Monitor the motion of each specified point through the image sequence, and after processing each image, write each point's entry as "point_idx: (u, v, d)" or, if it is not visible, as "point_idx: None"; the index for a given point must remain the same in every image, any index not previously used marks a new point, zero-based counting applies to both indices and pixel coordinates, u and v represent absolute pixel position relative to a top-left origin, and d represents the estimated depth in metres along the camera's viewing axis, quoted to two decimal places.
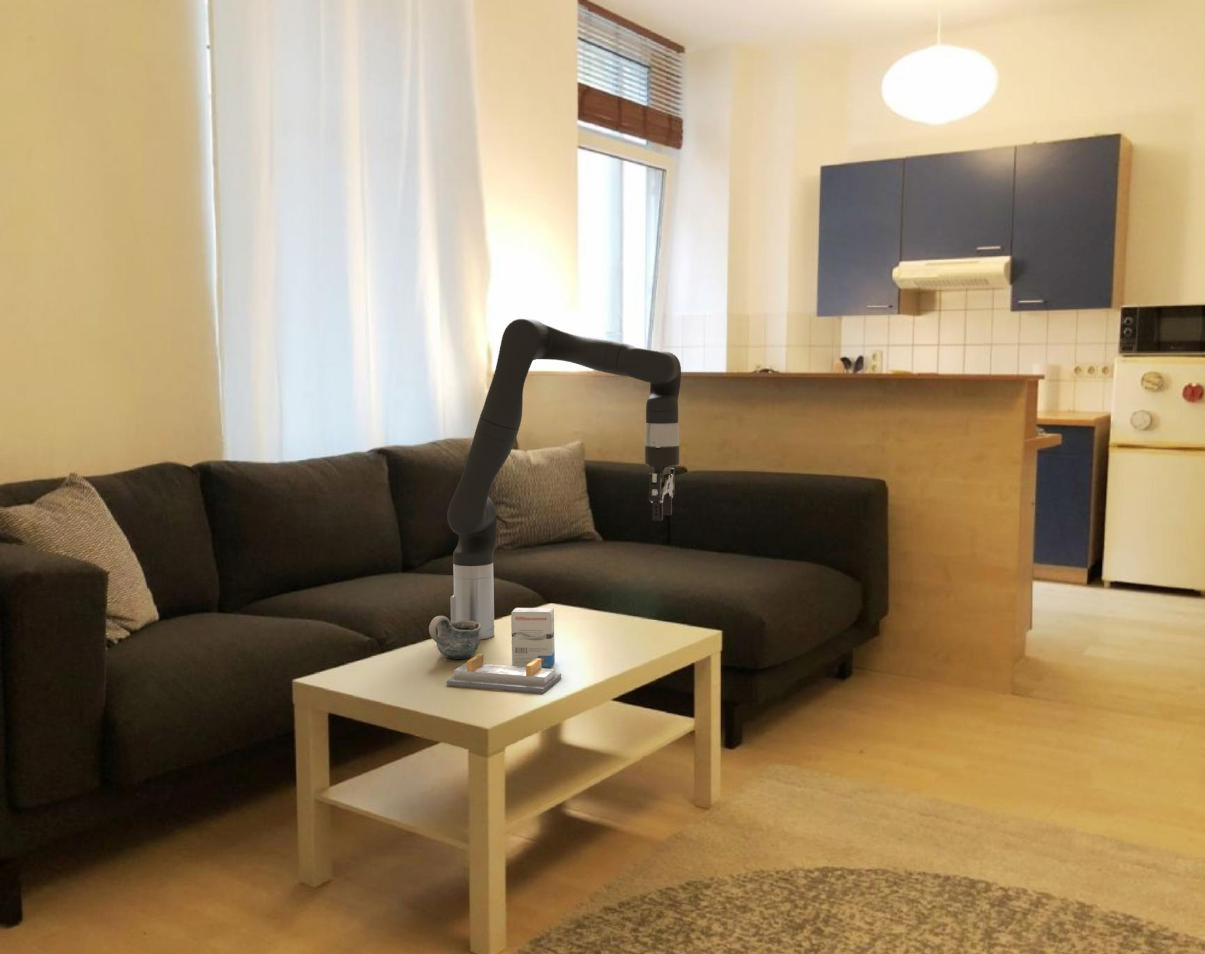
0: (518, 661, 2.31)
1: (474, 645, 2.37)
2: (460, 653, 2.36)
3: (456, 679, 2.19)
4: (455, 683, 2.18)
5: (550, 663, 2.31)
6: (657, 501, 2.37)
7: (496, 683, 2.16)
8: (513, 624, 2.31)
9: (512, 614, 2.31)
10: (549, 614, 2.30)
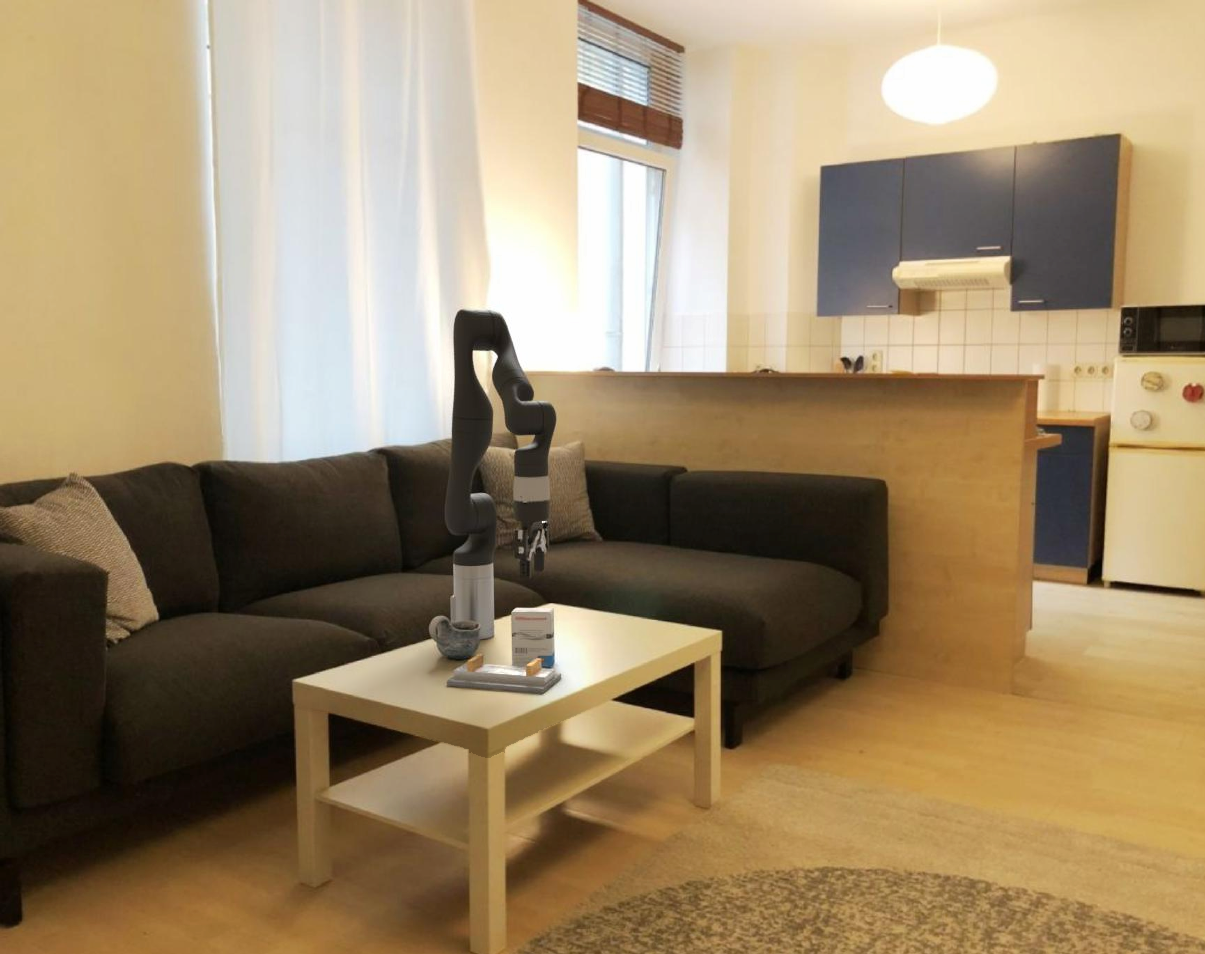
0: (518, 661, 2.31)
1: (474, 645, 2.37)
2: (460, 653, 2.36)
3: (456, 679, 2.19)
4: (455, 683, 2.18)
5: (550, 663, 2.31)
6: (523, 559, 2.25)
7: (496, 683, 2.16)
8: (513, 624, 2.31)
9: (512, 614, 2.31)
10: (549, 614, 2.30)
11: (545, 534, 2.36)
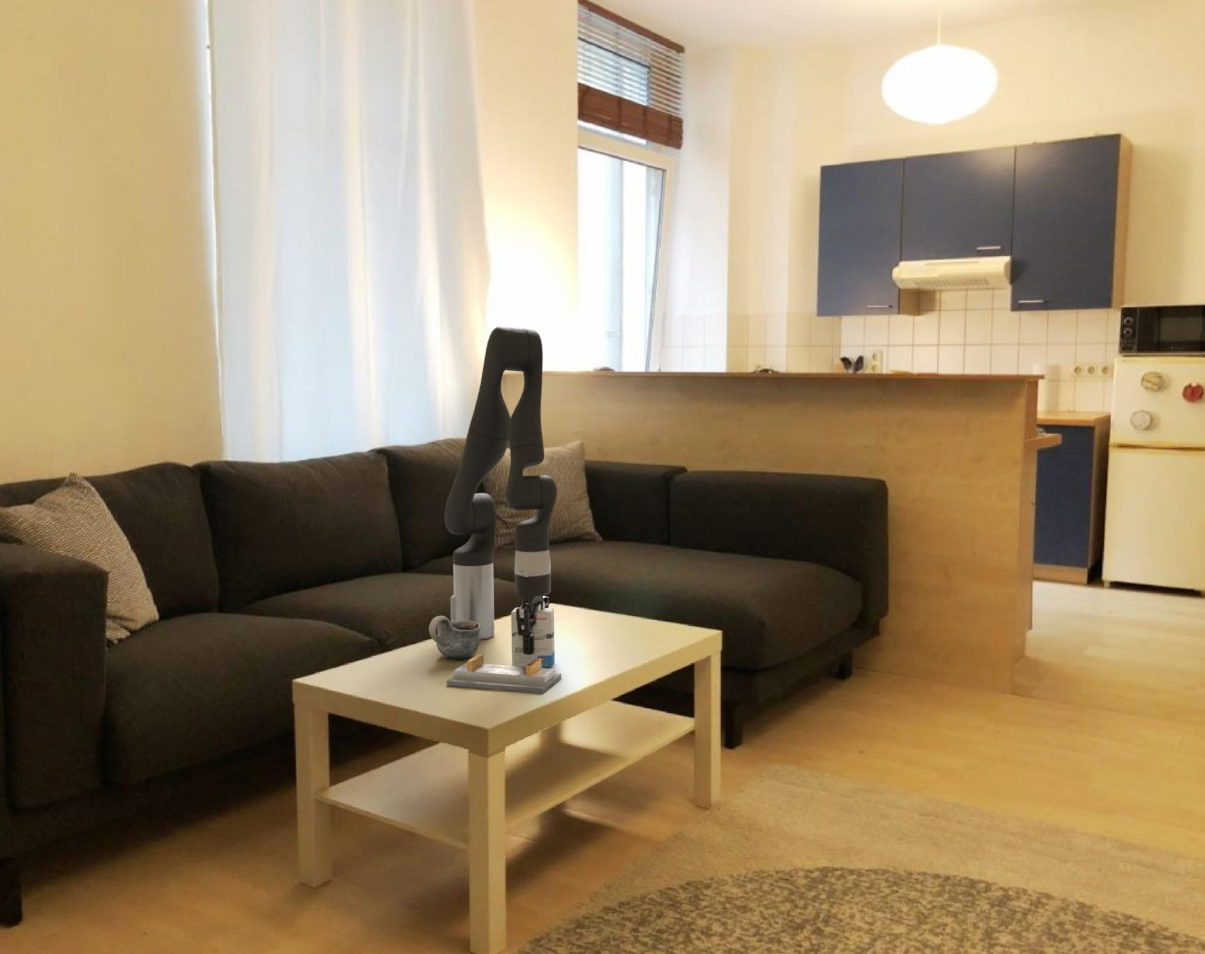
0: (518, 660, 2.31)
1: (474, 645, 2.37)
2: (460, 653, 2.36)
3: (456, 679, 2.19)
4: (455, 683, 2.18)
5: (550, 663, 2.31)
6: (527, 635, 2.28)
7: (496, 683, 2.16)
8: (513, 624, 2.31)
9: (512, 614, 2.31)
10: (549, 614, 2.30)
11: None
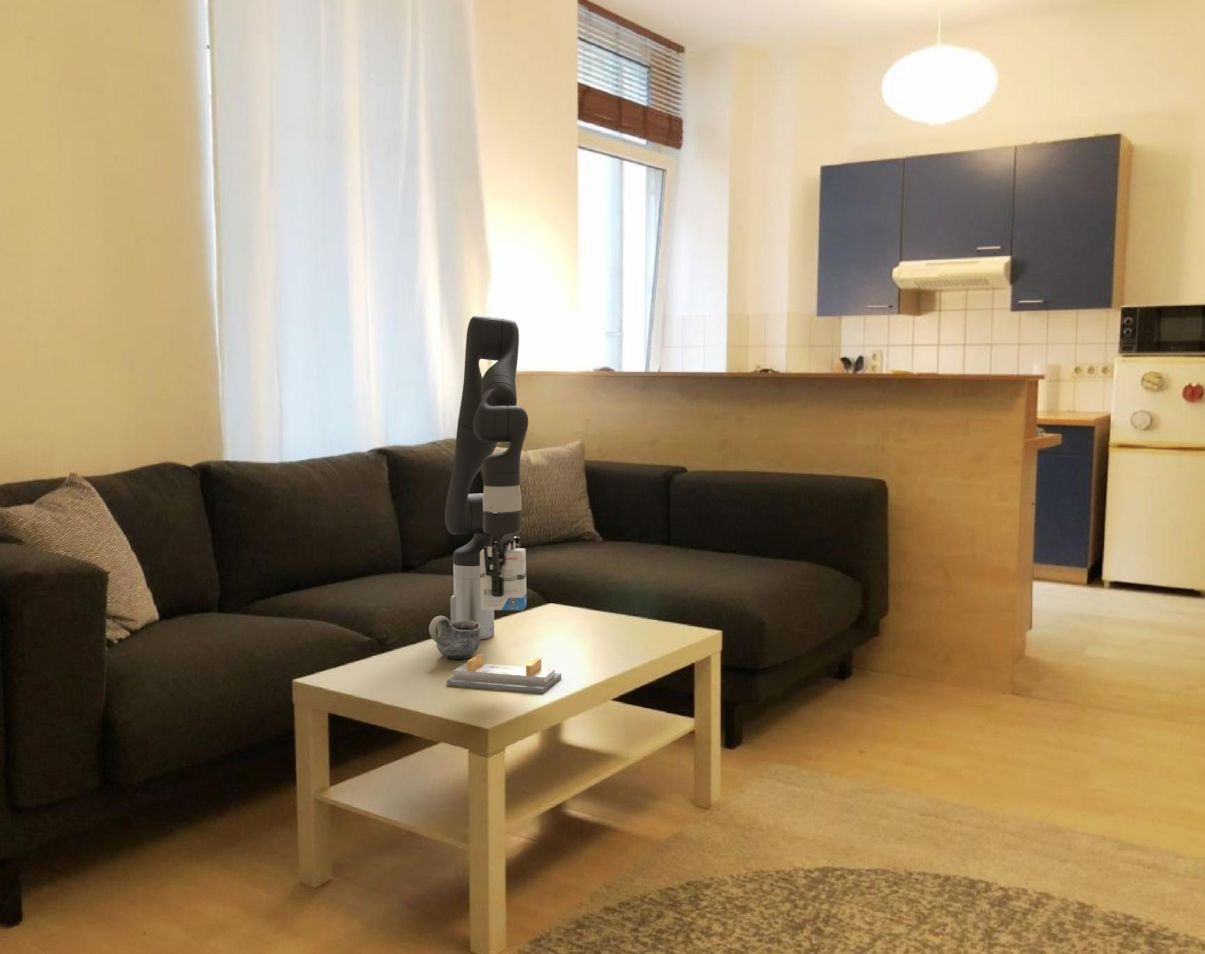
0: (487, 603, 2.17)
1: (474, 645, 2.37)
2: (460, 653, 2.36)
3: (456, 679, 2.19)
4: (455, 683, 2.18)
5: (521, 606, 2.16)
6: (495, 576, 2.14)
7: (496, 683, 2.16)
8: (481, 564, 2.16)
9: (481, 553, 2.16)
10: (520, 553, 2.15)
11: None
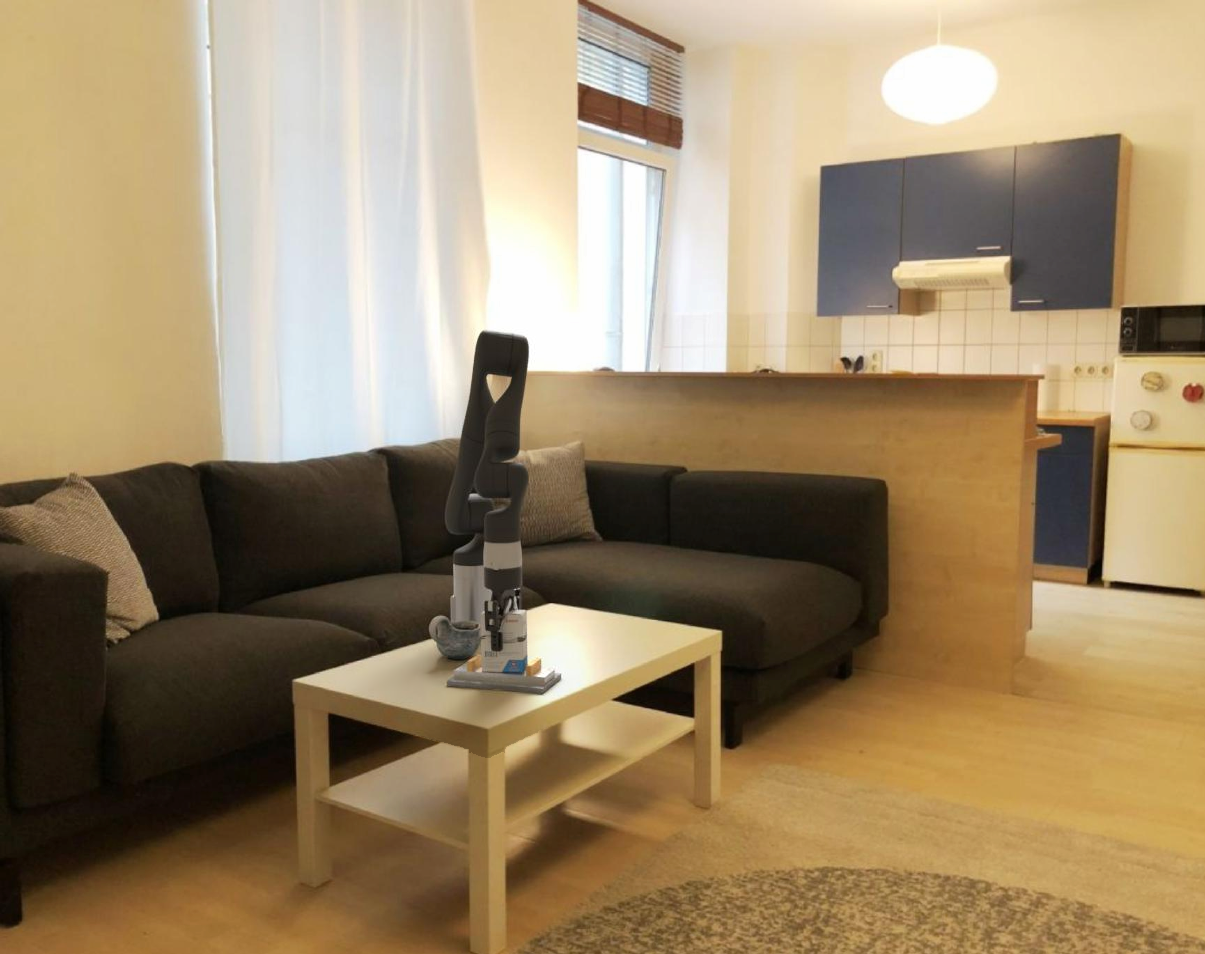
0: (488, 665, 2.18)
1: (474, 645, 2.37)
2: (460, 653, 2.36)
3: (456, 679, 2.19)
4: (455, 683, 2.18)
5: (521, 668, 2.18)
6: (495, 631, 2.14)
7: (496, 683, 2.16)
8: (482, 626, 2.18)
9: (481, 615, 2.18)
10: (520, 616, 2.17)
11: (517, 602, 2.24)
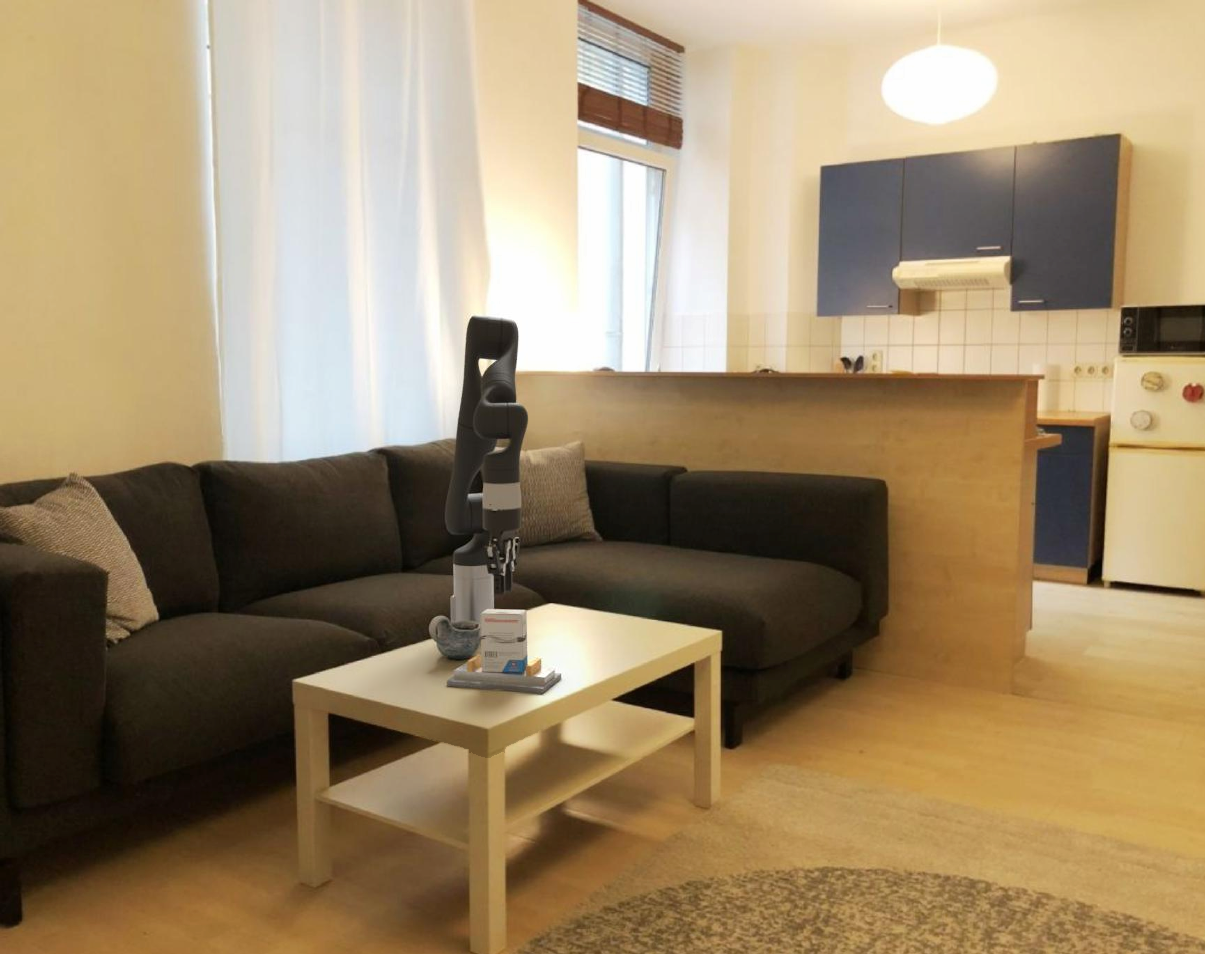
0: (488, 665, 2.18)
1: (474, 645, 2.37)
2: (460, 653, 2.36)
3: (456, 679, 2.19)
4: (455, 683, 2.18)
5: (521, 668, 2.18)
6: (497, 574, 2.14)
7: (496, 683, 2.16)
8: (482, 626, 2.18)
9: (481, 616, 2.18)
10: (520, 616, 2.17)
11: (515, 549, 2.22)
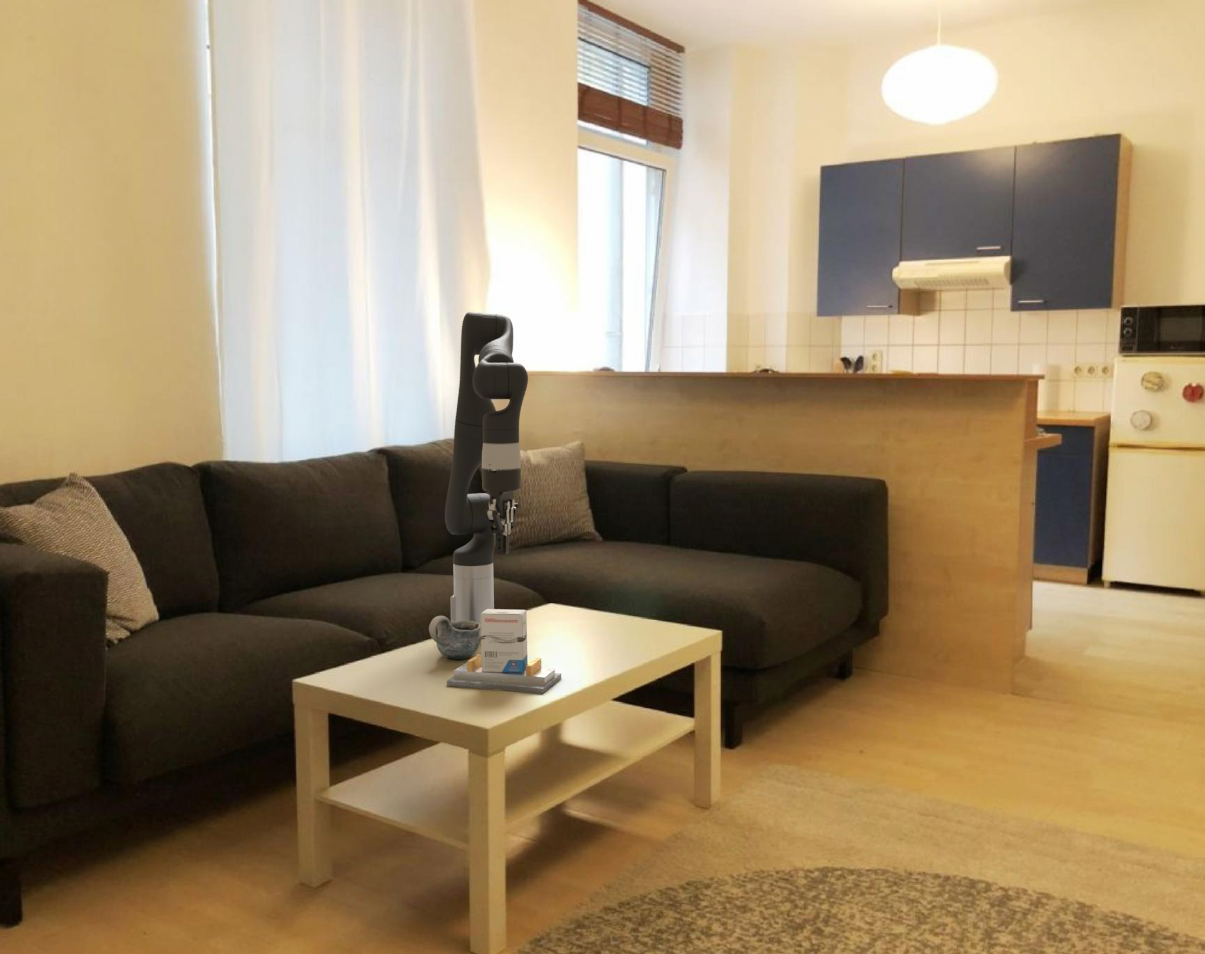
0: (488, 665, 2.18)
1: (474, 645, 2.37)
2: (460, 653, 2.36)
3: (456, 679, 2.19)
4: (455, 683, 2.18)
5: (521, 668, 2.18)
6: (499, 533, 2.15)
7: (496, 683, 2.16)
8: (482, 626, 2.18)
9: (481, 616, 2.18)
10: (520, 616, 2.17)
11: (513, 513, 2.20)
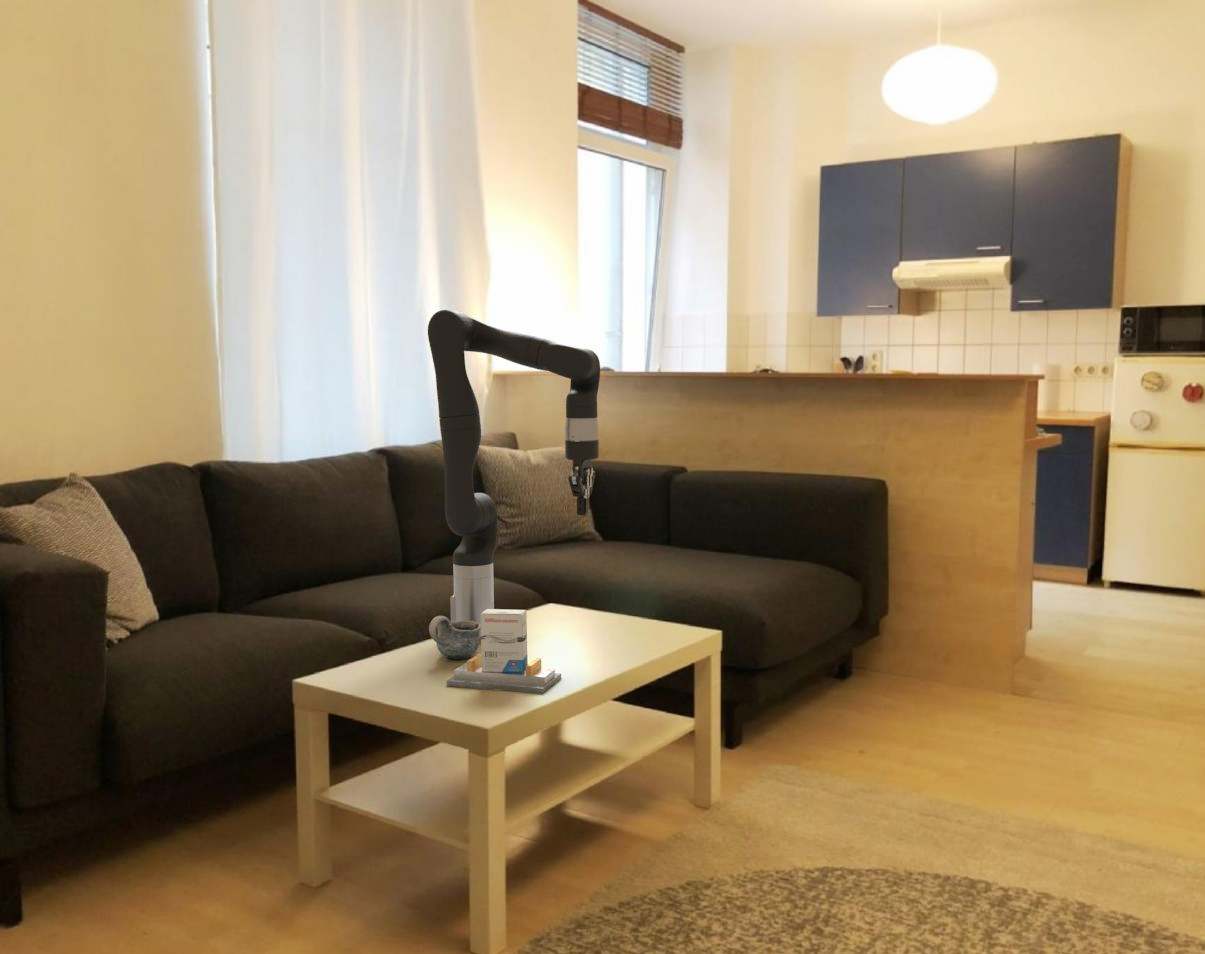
0: (488, 665, 2.18)
1: (474, 645, 2.37)
2: (460, 653, 2.36)
3: (456, 679, 2.19)
4: (455, 683, 2.18)
5: (521, 668, 2.18)
6: (581, 497, 2.48)
7: (496, 683, 2.16)
8: (482, 626, 2.18)
9: (481, 616, 2.18)
10: (520, 616, 2.17)
11: None
